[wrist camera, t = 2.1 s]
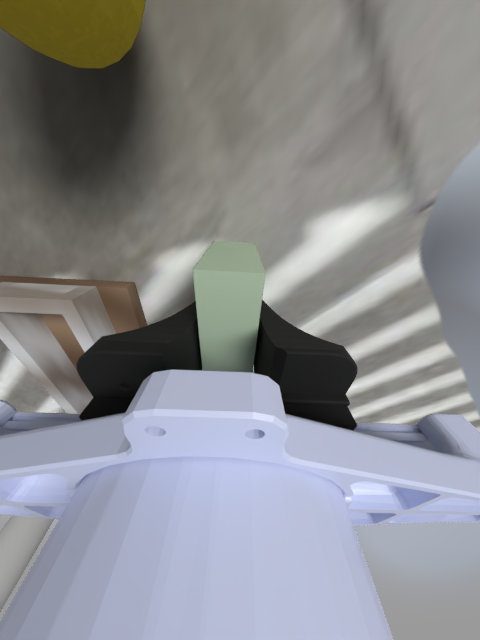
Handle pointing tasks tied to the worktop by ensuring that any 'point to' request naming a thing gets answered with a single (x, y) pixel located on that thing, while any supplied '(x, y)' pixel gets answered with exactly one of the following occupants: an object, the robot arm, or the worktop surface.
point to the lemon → (75, 28)
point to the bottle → (18, 549)
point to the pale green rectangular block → (228, 305)
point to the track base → (63, 327)
